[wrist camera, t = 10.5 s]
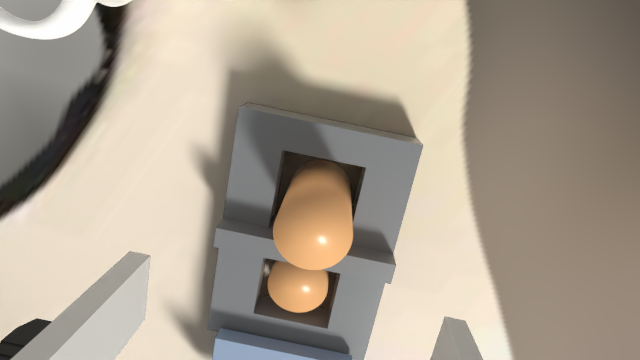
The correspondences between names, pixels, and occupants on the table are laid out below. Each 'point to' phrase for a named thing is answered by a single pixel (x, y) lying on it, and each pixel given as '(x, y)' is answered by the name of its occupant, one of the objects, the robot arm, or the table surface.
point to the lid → (266, 349)
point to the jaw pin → (315, 217)
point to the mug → (55, 19)
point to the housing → (258, 244)
